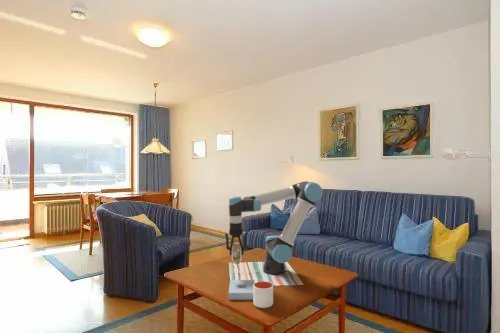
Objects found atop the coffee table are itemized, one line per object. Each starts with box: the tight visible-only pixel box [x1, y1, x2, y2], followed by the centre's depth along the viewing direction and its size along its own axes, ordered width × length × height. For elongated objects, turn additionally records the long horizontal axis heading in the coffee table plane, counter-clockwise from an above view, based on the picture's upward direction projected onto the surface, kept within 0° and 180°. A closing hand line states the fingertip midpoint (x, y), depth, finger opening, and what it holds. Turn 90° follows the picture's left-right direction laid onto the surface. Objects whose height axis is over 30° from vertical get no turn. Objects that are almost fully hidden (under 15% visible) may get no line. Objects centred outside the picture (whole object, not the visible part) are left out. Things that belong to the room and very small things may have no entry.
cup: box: [252, 280, 274, 309], centre depth 157 cm, size 10×10×10 cm
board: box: [227, 279, 255, 301], centre depth 172 cm, size 14×18×4 cm
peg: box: [232, 242, 241, 265], centre depth 189 cm, size 4×4×12 cm
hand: (236, 260), depth 189 cm, fingers closed on peg, 4 cm apart
